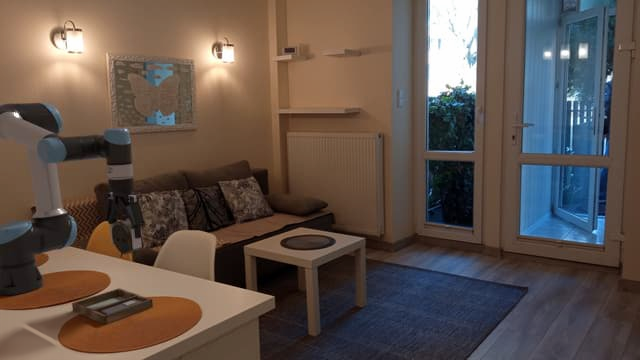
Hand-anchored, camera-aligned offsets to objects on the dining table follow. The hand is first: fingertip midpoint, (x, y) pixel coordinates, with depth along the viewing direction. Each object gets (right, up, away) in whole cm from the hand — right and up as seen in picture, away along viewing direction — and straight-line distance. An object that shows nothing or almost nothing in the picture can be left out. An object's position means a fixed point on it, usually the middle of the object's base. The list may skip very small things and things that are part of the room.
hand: (126, 245), depth 166 cm
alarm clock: (0, -4, +1) cm, 4 cm away
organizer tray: (-1, -19, -8) cm, 21 cm away
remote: (+3, -19, -11) cm, 22 cm away
